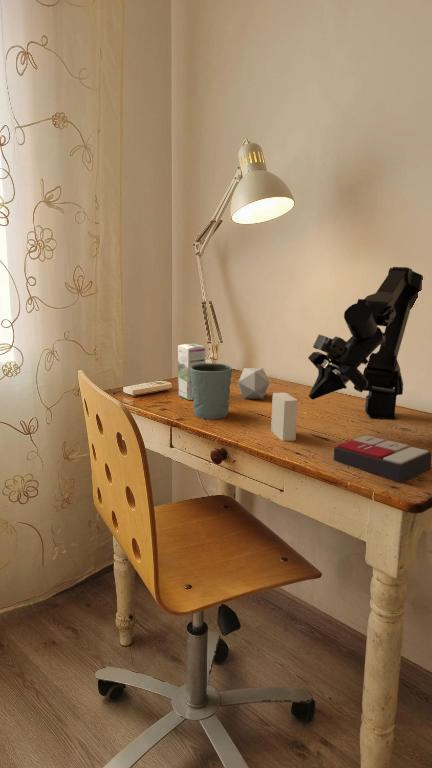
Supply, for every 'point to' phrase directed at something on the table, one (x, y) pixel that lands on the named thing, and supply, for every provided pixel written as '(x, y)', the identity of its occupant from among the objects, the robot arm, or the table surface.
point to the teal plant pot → (211, 389)
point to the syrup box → (188, 367)
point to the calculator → (384, 458)
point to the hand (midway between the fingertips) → (310, 397)
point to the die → (253, 383)
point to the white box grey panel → (284, 416)
